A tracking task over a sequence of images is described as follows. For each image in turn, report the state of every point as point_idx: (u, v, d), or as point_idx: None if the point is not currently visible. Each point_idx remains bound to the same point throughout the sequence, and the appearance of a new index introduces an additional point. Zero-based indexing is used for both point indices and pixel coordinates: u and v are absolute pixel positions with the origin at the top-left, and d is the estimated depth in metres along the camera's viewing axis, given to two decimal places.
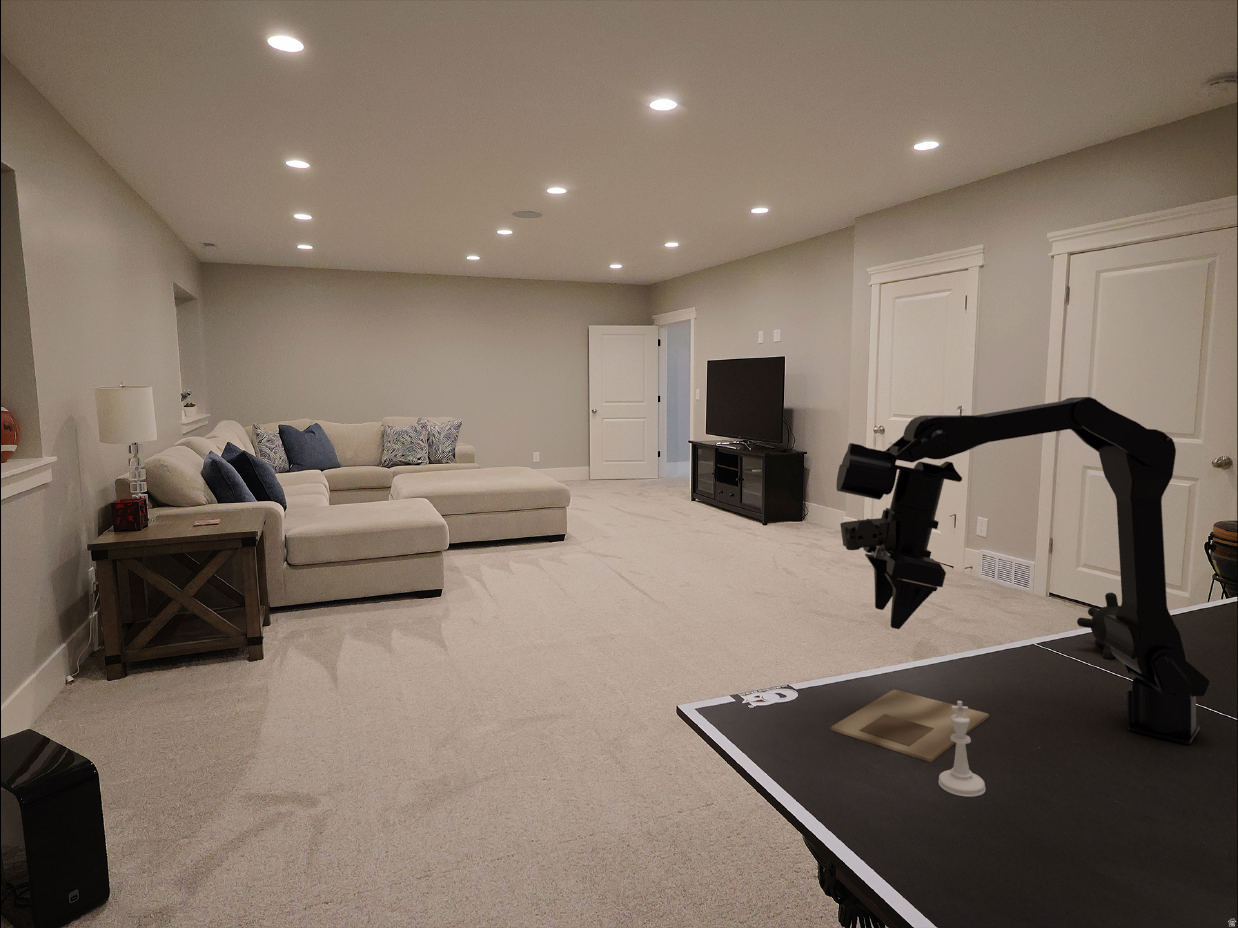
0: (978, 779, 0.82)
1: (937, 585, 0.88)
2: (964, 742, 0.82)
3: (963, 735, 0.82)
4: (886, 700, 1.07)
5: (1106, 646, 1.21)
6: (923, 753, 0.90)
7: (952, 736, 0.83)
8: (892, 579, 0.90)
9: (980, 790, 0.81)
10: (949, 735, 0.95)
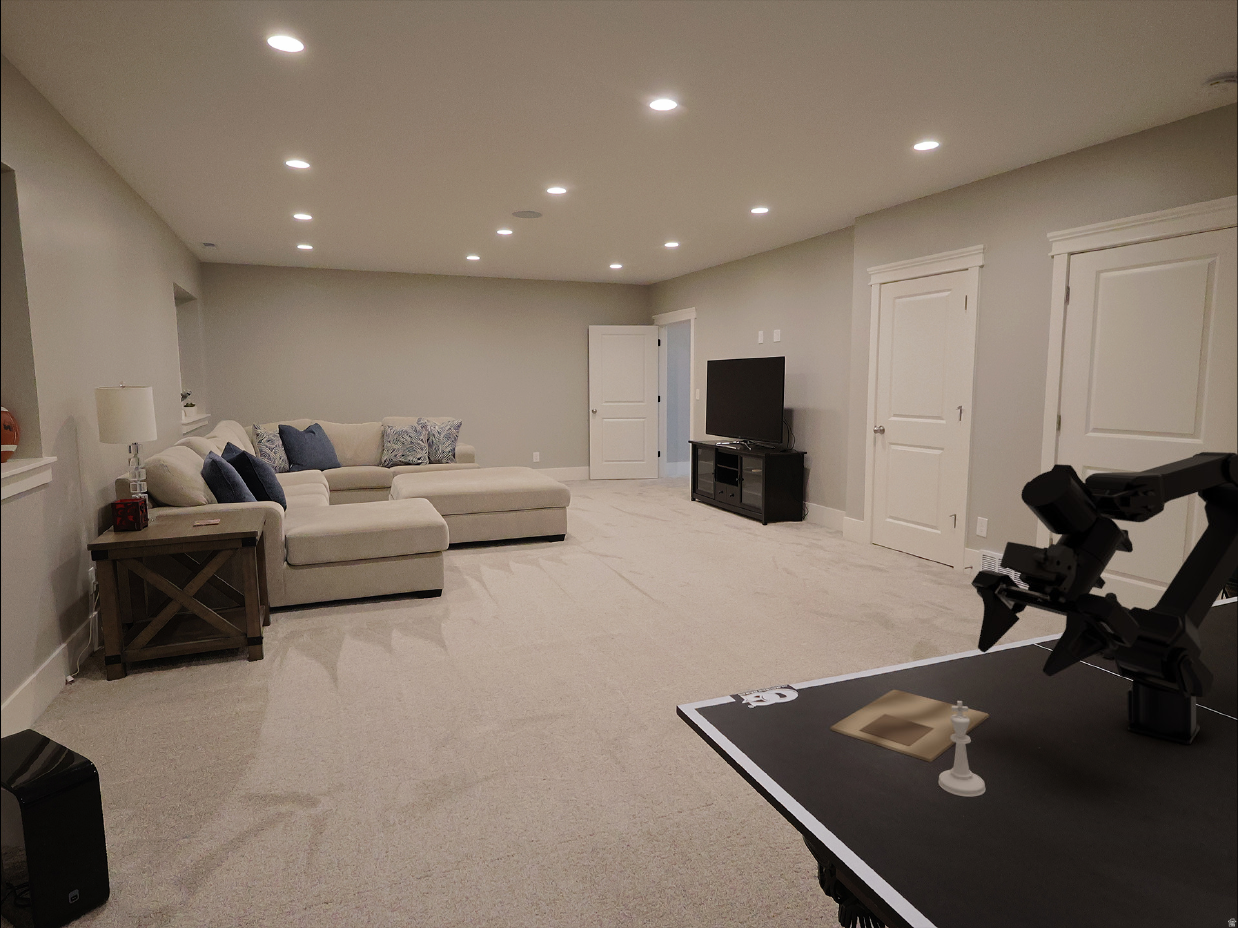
0: (978, 779, 0.82)
1: (1131, 643, 0.78)
2: (964, 742, 0.82)
3: (963, 735, 0.82)
4: (886, 700, 1.07)
5: None
6: (923, 753, 0.90)
7: (952, 736, 0.83)
8: (1091, 619, 0.78)
9: (980, 790, 0.81)
10: (949, 735, 0.95)
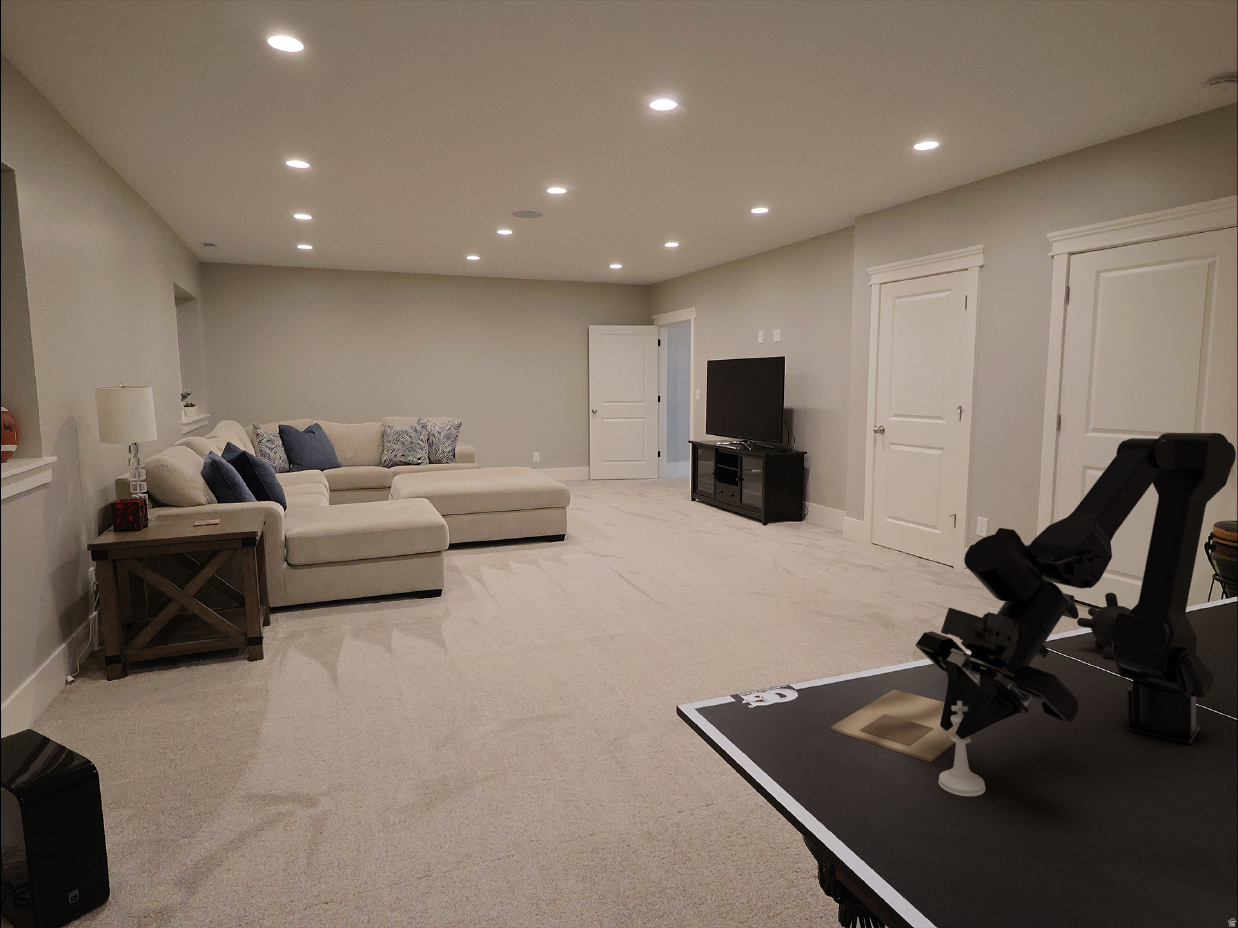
0: (979, 779, 0.82)
1: (1069, 721, 0.75)
2: (964, 742, 0.82)
3: None
4: (886, 700, 1.07)
5: (1106, 646, 1.21)
6: (923, 753, 0.90)
7: (952, 736, 0.83)
8: (1001, 684, 0.79)
9: (980, 790, 0.81)
10: (949, 735, 0.95)
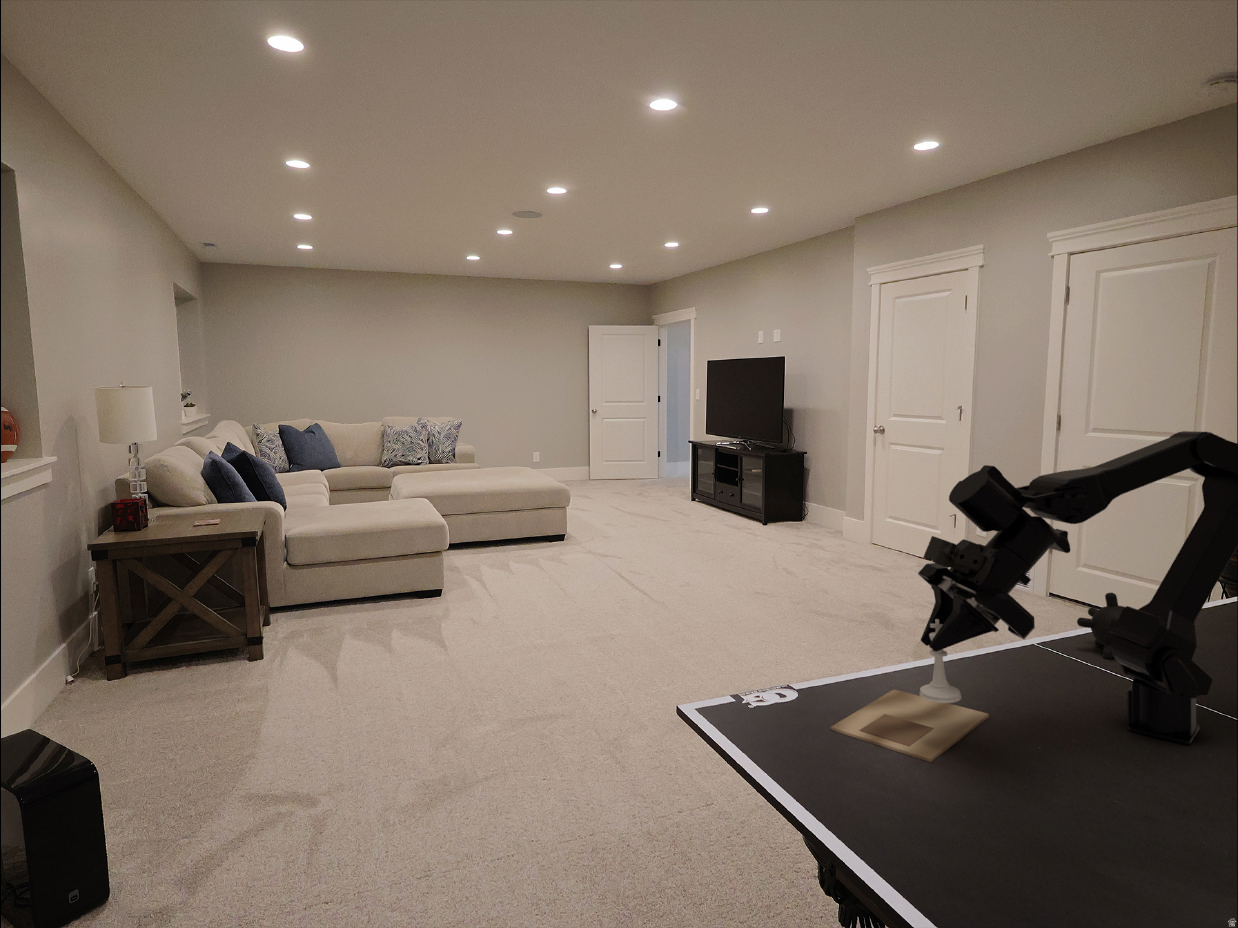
0: (954, 691, 0.91)
1: (1022, 635, 0.83)
2: (939, 655, 0.91)
3: None
4: (886, 700, 1.07)
5: (1106, 646, 1.21)
6: (923, 753, 0.90)
7: (931, 650, 0.93)
8: (966, 602, 0.87)
9: (952, 698, 0.90)
10: (949, 735, 0.95)
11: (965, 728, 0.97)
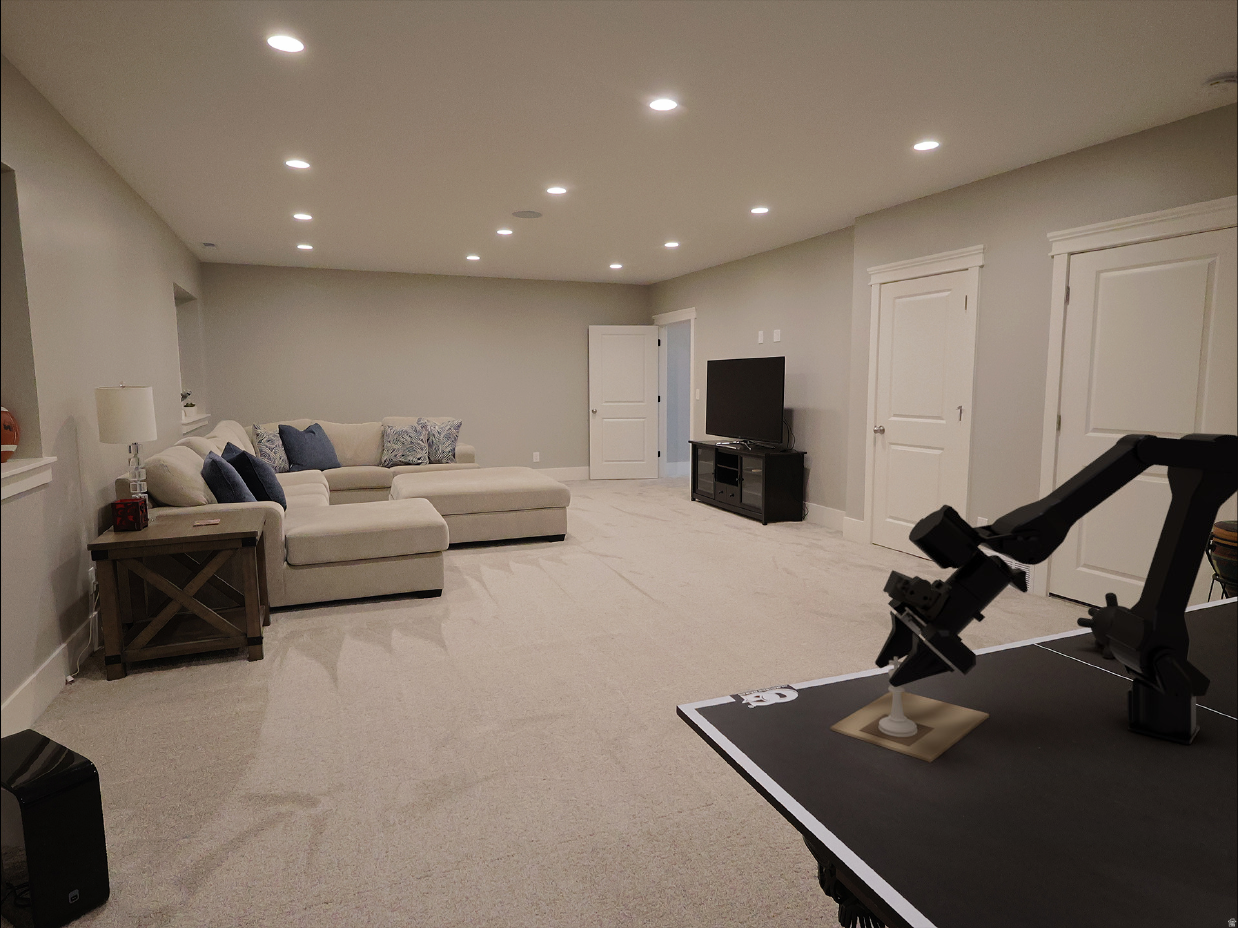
0: (910, 725, 0.96)
1: (962, 671, 0.87)
2: (895, 691, 0.96)
3: None
4: (886, 700, 1.07)
5: (1106, 646, 1.21)
6: (923, 753, 0.90)
7: (890, 686, 0.97)
8: (921, 641, 0.90)
9: (906, 733, 0.95)
10: (949, 735, 0.95)
11: (965, 728, 0.97)
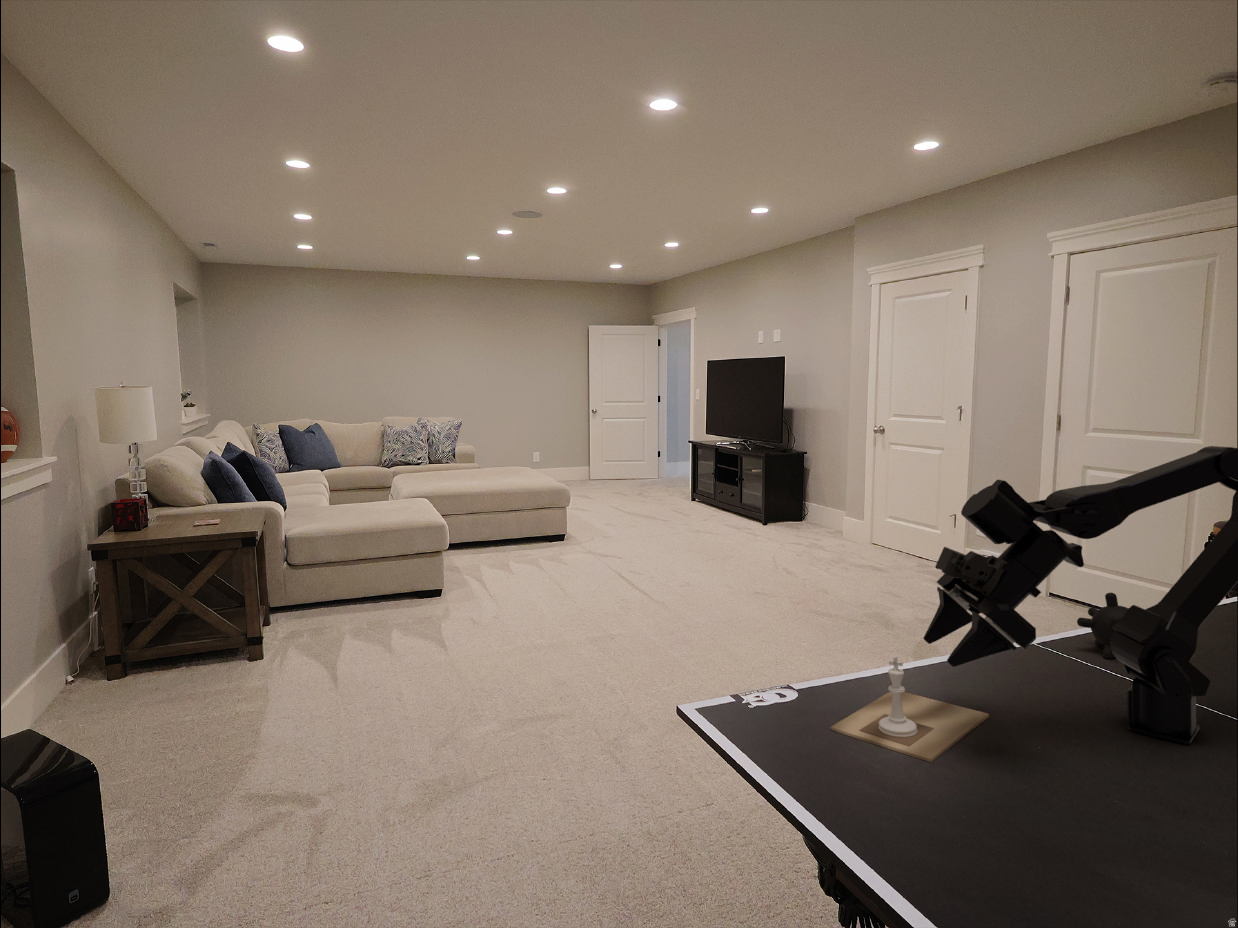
0: (910, 725, 0.96)
1: (1022, 645, 0.86)
2: (895, 691, 0.96)
3: (897, 685, 0.96)
4: (886, 700, 1.07)
5: (1106, 646, 1.21)
6: (923, 753, 0.90)
7: (889, 686, 0.97)
8: (982, 619, 0.88)
9: (906, 733, 0.95)
10: (949, 735, 0.95)
11: (965, 728, 0.97)
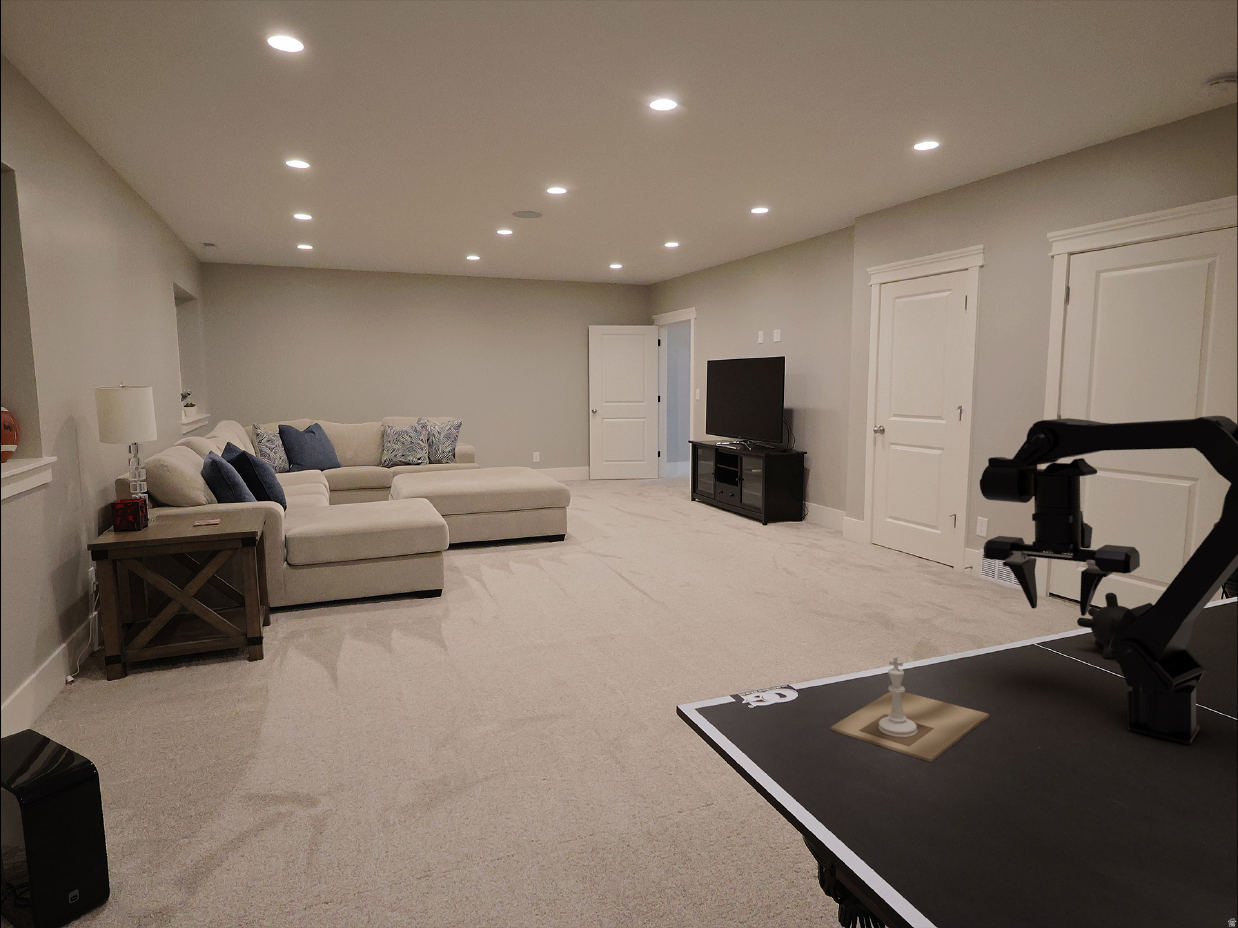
0: (910, 725, 0.96)
1: None
2: (895, 691, 0.96)
3: (897, 685, 0.96)
4: (886, 700, 1.07)
5: (1106, 646, 1.21)
6: (923, 753, 0.90)
7: (890, 686, 0.97)
8: None
9: (906, 733, 0.95)
10: (949, 735, 0.95)
11: (965, 728, 0.97)
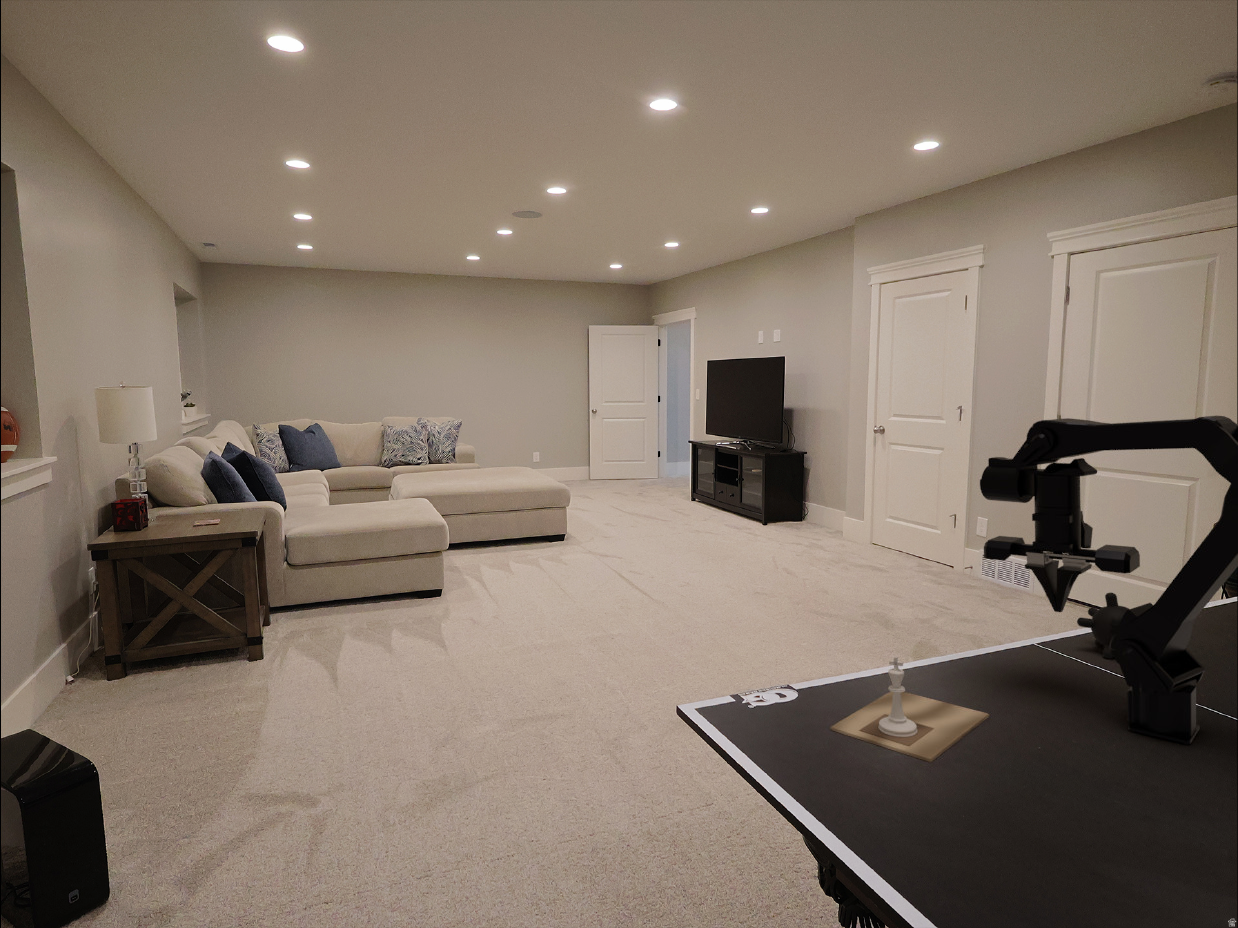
0: (910, 725, 0.96)
1: None
2: (895, 691, 0.96)
3: (897, 685, 0.96)
4: (886, 700, 1.07)
5: (1106, 646, 1.21)
6: (923, 753, 0.90)
7: (890, 686, 0.97)
8: None
9: (906, 733, 0.95)
10: (949, 735, 0.95)
11: (965, 728, 0.97)
